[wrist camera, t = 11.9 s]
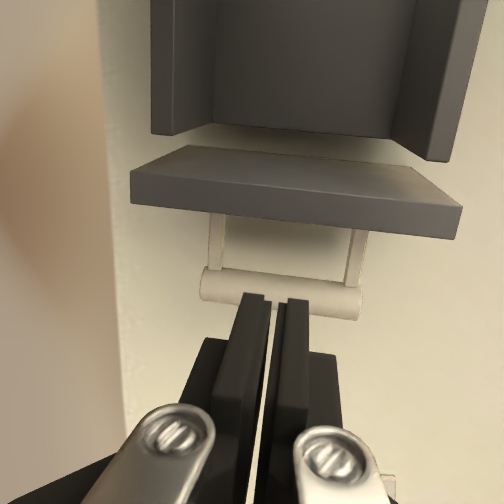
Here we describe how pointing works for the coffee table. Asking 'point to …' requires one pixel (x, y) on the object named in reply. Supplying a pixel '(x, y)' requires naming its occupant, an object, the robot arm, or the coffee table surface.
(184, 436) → the robot arm
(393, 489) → the white stand base
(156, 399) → the coffee table surface
